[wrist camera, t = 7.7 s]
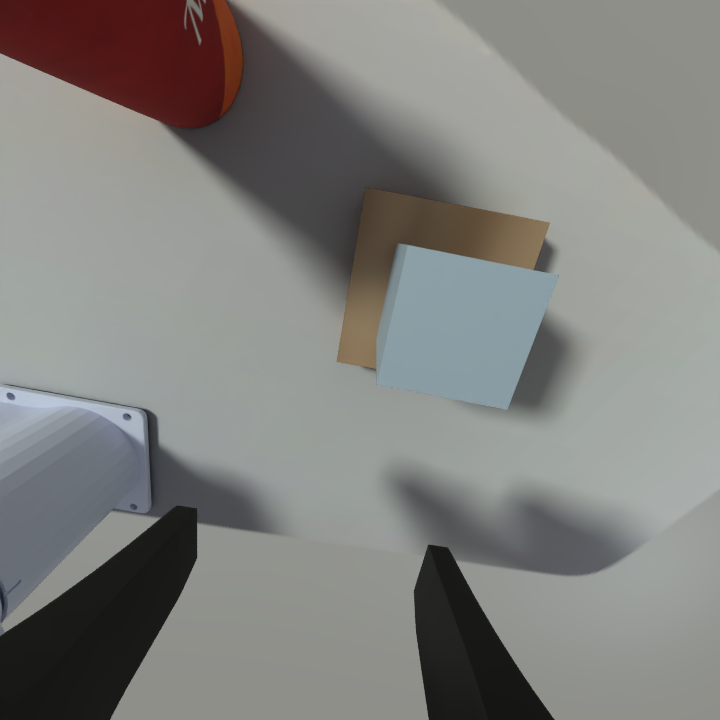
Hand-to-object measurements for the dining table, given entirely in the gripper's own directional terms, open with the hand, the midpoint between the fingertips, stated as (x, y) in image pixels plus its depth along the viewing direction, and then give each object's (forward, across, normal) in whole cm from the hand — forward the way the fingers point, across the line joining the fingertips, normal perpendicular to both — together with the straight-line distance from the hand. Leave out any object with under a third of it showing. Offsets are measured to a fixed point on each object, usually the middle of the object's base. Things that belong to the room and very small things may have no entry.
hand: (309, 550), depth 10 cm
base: (+10, -4, -7) cm, 13 cm away
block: (+8, -4, -7) cm, 11 cm away
